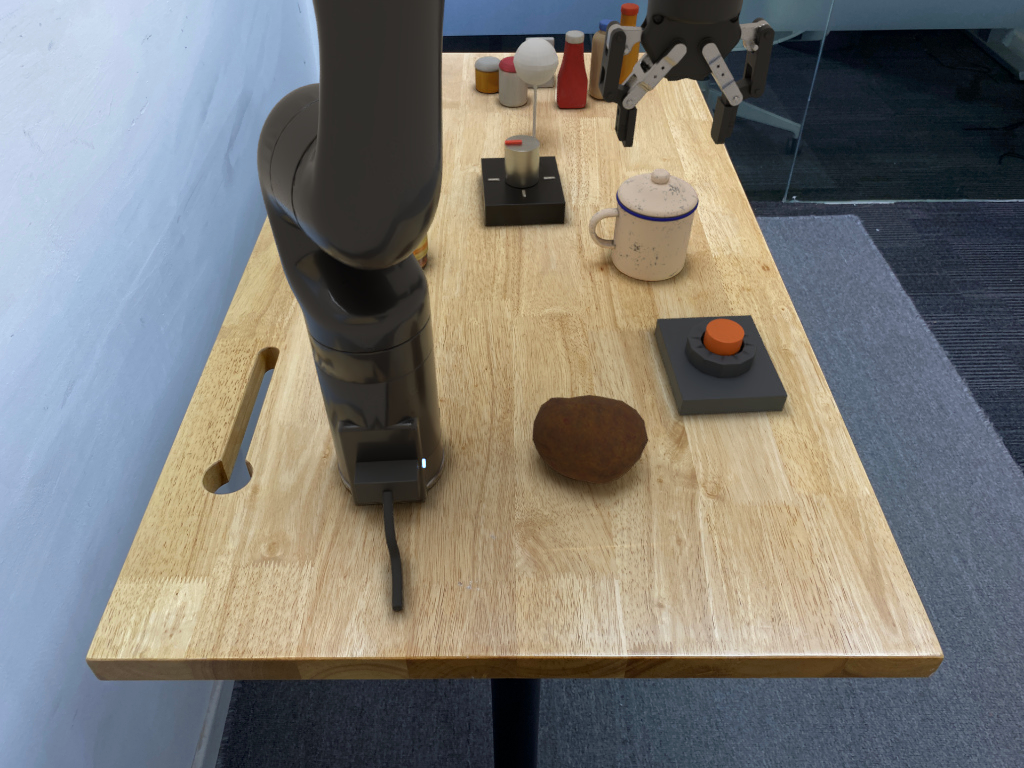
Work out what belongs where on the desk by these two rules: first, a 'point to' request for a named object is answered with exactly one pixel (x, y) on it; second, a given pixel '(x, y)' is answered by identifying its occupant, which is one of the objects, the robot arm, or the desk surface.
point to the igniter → (718, 369)
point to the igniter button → (723, 337)
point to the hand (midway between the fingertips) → (671, 142)
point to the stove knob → (522, 161)
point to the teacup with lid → (650, 225)
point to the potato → (589, 437)
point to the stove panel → (522, 195)
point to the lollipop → (535, 66)
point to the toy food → (572, 71)
